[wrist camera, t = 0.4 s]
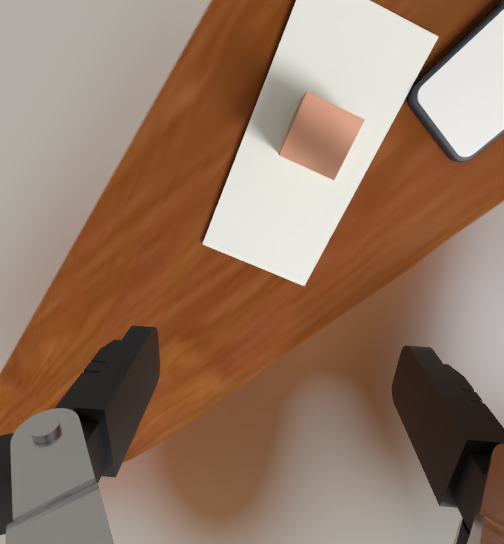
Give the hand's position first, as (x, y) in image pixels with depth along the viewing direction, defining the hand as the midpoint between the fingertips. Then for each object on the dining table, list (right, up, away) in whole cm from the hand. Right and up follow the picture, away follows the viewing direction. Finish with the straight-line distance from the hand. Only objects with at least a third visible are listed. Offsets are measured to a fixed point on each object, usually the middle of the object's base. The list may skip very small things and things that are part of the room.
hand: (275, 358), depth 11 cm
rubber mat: (+4, +14, +21) cm, 26 cm away
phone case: (+21, +21, +18) cm, 35 cm away
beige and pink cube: (+5, +15, +20) cm, 26 cm away
